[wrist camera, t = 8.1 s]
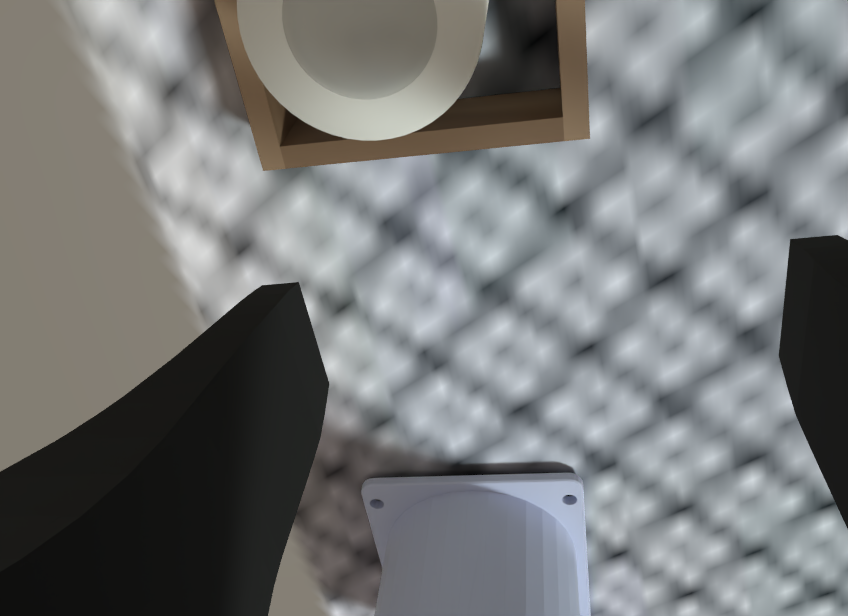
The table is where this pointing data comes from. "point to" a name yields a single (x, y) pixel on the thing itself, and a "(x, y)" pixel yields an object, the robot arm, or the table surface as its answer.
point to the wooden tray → (451, 132)
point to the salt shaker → (364, 59)
